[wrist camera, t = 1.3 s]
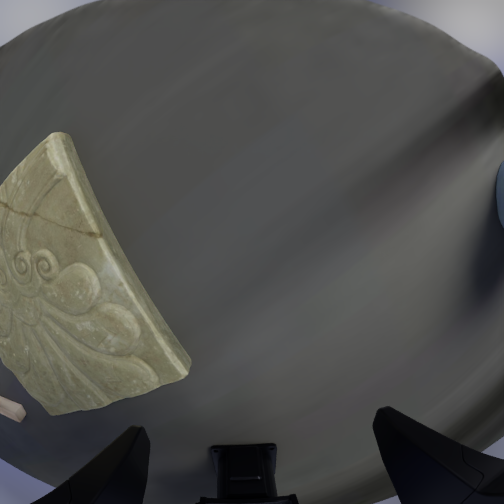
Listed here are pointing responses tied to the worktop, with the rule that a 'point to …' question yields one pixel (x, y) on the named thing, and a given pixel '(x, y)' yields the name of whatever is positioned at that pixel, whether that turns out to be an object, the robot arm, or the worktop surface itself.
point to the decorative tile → (74, 293)
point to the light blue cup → (500, 193)
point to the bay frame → (12, 409)
